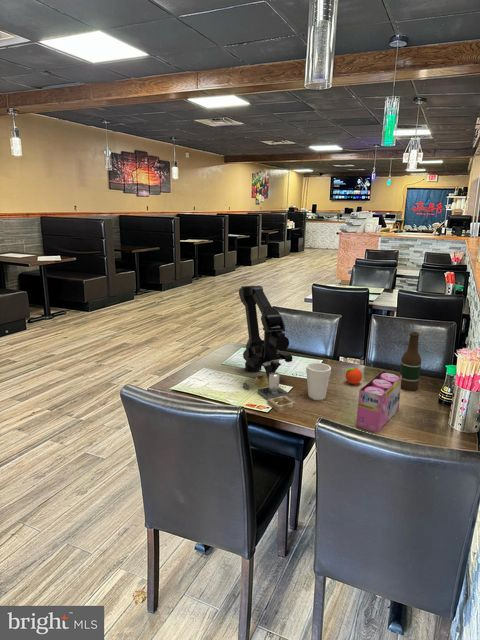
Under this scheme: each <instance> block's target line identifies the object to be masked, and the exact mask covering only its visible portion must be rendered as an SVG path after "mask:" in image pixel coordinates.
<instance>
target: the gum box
mask: <svg viewBox="0 0 480 640" xmlns="http://www.w3.org/2000/svg"><path fill="white" fill-rule="evenodd" d="M401 378H402V375H399V374H398V375H396V374H393V373H388V372H387V371H386V370H382V371H380V372H378V373H377V374H376V375H375V376H374V377H373V378H372V379H371V380H369V382H367V383H366V384H365V385H364V386H362V387H361V388H360V389H359V392H358V404H357V411H356V423H355V426H356V427H359V428H361V429H364V430H368V431H371V432H375V433H377V434H378V433H379V432H380V431H381V429H383V428H384V426H385V425H386V424H387V423H388V422H389V421H390V420H391V419H392V418H393V416H395V414H396V413H397V412H398V410H400V401H401V400H400V399H401V398H400V397H401V390H402V389H401Z"/></svg>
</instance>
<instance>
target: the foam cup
mask: <svg viewBox="0 0 480 640" xmlns="http://www.w3.org/2000/svg"><path fill="white" fill-rule="evenodd" d="M305 369H306V370H305V373H306V381H307V382H306V383H307V395H308V397H309V398H311V399H312V400H315V401H322V400H324V399H326V397H327V396H326V395H327V391H328V386H329V382H330V378H331V375H332V366H330V365H329V364H326V363H322V362H311V363H308V364H306V368H305Z"/></svg>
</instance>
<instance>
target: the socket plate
mask: <svg viewBox="0 0 480 640" xmlns="http://www.w3.org/2000/svg"><path fill="white" fill-rule="evenodd" d="M242 388H243V389H245V390H246V391H248V390H249V389H250V384H248V383H246V382H242ZM268 389H269V386H266V387H261V388H259V389H257V394H258V395H259V396H261V397H262V398H264V399H265V400H267V399H272V398H276V397H280V396H287V397H288V398H290V395H291V394H290V393H289V392H288V391H286V390H284V389H283V388H281V387H280V386H279V394H275V395H270V394H269V393H268Z"/></svg>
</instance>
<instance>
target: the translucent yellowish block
mask: <svg viewBox="0 0 480 640" xmlns="http://www.w3.org/2000/svg"><path fill="white" fill-rule="evenodd" d="M254 385H255V386H257V387H258V388H264V387H268V386H269V379H268V377H267V375H264V374H263V375H258V376H257V375H256V376H255V384H254Z"/></svg>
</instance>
